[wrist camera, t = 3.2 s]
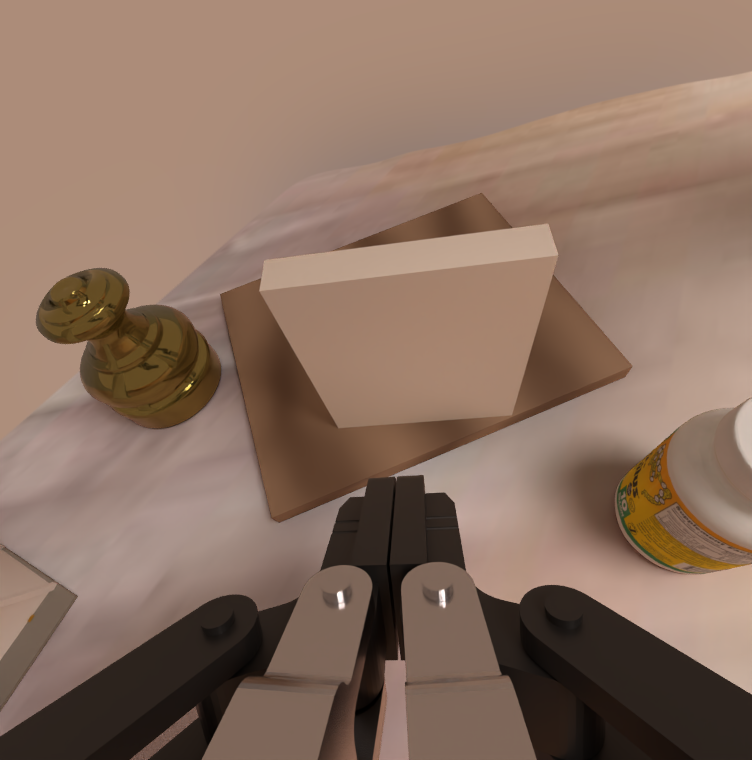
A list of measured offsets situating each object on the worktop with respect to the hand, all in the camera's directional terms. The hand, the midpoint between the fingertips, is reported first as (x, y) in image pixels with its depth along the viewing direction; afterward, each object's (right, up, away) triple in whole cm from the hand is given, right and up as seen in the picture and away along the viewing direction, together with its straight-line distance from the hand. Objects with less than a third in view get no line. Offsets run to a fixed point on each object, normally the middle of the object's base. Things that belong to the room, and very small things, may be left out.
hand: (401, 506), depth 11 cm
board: (+1, +7, +18) cm, 19 cm away
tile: (+2, +2, +13) cm, 13 cm away
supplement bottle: (+14, -3, +10) cm, 17 cm away
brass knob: (-15, +3, +19) cm, 24 cm away
